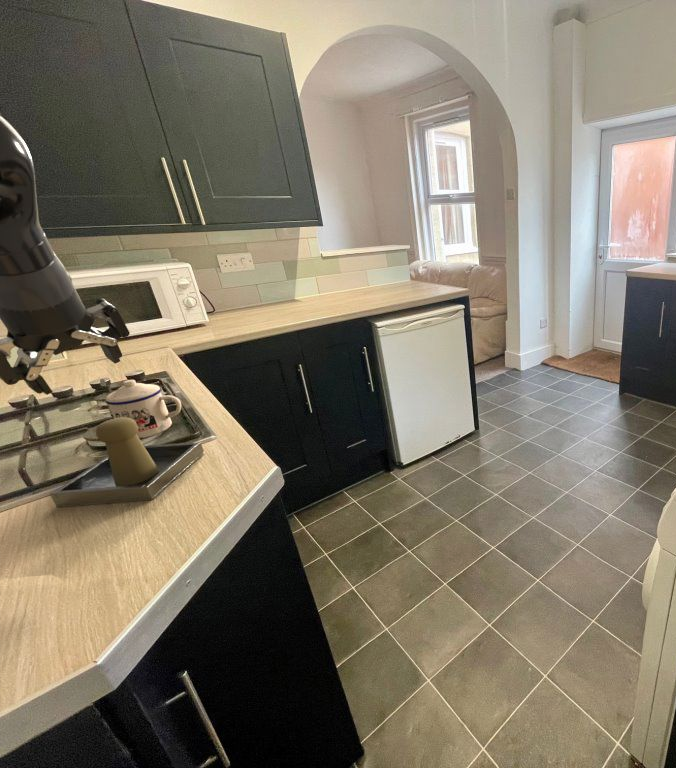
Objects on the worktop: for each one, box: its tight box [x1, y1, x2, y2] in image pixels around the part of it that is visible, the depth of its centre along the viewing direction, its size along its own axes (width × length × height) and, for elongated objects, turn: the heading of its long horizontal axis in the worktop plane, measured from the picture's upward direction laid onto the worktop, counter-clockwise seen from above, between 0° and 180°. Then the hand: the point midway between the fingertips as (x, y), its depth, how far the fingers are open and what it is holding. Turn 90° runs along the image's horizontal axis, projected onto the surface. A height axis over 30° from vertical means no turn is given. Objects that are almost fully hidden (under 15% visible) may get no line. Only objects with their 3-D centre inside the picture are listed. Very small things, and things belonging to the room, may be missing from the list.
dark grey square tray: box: [49, 441, 205, 508], centre depth 74 cm, size 15×15×3 cm
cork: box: [95, 417, 158, 486], centre depth 72 cm, size 6×6×11 cm
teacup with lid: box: [105, 379, 182, 439], centre depth 90 cm, size 12×9×12 cm
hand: (81, 374), depth 62 cm, fingers open, 8 cm apart
